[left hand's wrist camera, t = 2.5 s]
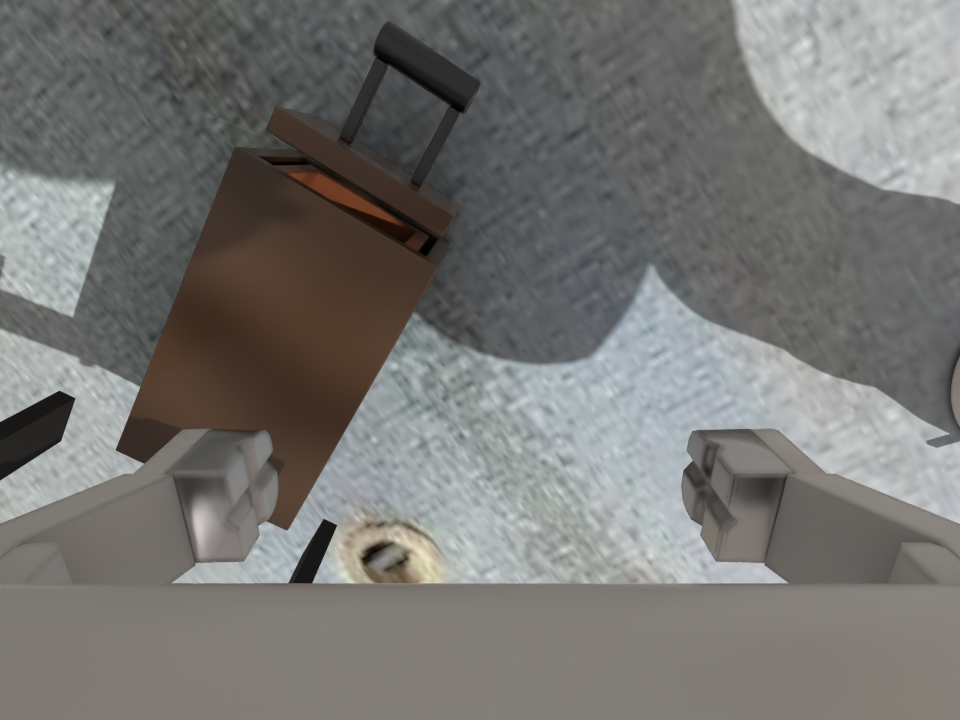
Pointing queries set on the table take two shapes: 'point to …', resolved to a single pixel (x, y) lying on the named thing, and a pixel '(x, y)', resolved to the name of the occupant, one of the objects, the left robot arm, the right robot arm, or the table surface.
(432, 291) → the table surface
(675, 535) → the table surface
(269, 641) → the left robot arm
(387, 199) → the drawer
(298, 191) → the cabinet
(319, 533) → the right robot arm
